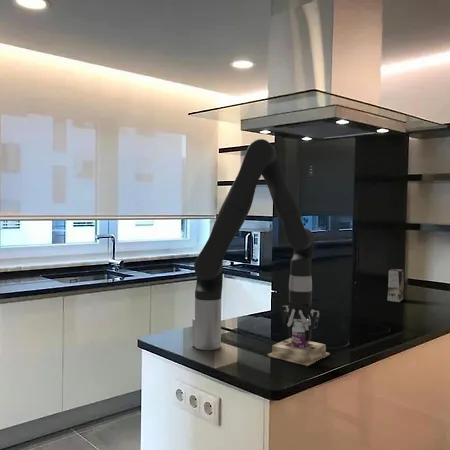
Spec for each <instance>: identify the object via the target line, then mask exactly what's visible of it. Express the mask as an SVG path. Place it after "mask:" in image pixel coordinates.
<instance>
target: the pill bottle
mask: <svg viewBox="0 0 450 450" xmlns="http://www.w3.org/2000/svg"><path fill="white" fill-rule="evenodd" d="M305 330H306V328H305V325H304V324H303V322H302V320H300V319H297V320H294V325H293V327H292V342H291V347H293V348H298V349H302V350H304V349H306V348H307V347H308V341H305Z"/></svg>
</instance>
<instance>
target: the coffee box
mask: <svg viewBox="0 0 450 450" xmlns="http://www.w3.org/2000/svg"><path fill="white" fill-rule="evenodd" d="M404 278H405V269H400V268H396V269H395V268H391V269H389V270H388V284H387V286H388V287H387V301H389V302H396V303H400V302H402V301H403V300H404V286H405V285H404V281H405V280H404Z"/></svg>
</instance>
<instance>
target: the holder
mask: <svg viewBox="0 0 450 450" xmlns="http://www.w3.org/2000/svg"><path fill="white" fill-rule="evenodd" d="M291 342H292V338H287V339H285V340H282V341H280V342H277V343H274V344H273V345H271V352H269V353H267V357H271V358H275V359H279V360H283V361H286V362H290V363H294V364H298V365H302V366H306V367H309V366H311V365H312V364H315V363H317V362H318V360H319V361H320V359H321V360H322V358H323V359H324V358H326V357H328V356H330V355H331V353H330V352H327V345H326V344H324V343H320V342H315V341H311V340H309V341H308V347H307V348H306V349H304V350H302V349H298V348H293V347H291ZM316 361H317V362H316Z"/></svg>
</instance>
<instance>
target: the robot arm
mask: <svg viewBox="0 0 450 450" xmlns="http://www.w3.org/2000/svg"><path fill="white" fill-rule="evenodd" d="M261 177H262V178H263V179H264V181H265V183H266V185H267V189H268V192H269V194H270V196H271V200H272V204H273V205H274V208H275V210H276V213H277V215H278V216H279V219H280V221H281V223H282V226H283V227H282V228H283V231H284V234H285V238H286V241H287V243H288V244H289V246H290V247H291V248H292V250H293V256H292V258H291V259H290V263H289V265H290V266H289V267H290V268H289V279H288V303H289V304H288V305H287V304H285V305H281V306H280V312H281V319H282V323H283V324H284V325H286V326H287V336H288V337H289V338H288V339H290V338H292V327H293V326H295V325H294V320H297V319H300V320H302V322H303V324H304V325H305V328H306V330H305V341H311V339H312V330H315V329H317V328H318V325H319V320H320V317H321V311H320V310H315V309H313V307H312V303H313V302H312V301H313V295H312V294H313V279H312V259H313V255H314V250H315V249H314V248H315V237H314V234H313V232H312V231H311V230H310V229H308V228H305V227H304V224H303V220H302V213H301V210H300V207H299V206H298V204H297V201H296V200H295V198H294V196H293V194H292V192H291V190H290V187H289V186H288V184H287V182H286V179H285V178H284V175H283V172H282V169H281V167H280V163H279V159H278V154H277V151H276V149H275V146H274V145H272V144H271V143H270V142H269V141H268V140H267V139H263V138H258V139H255V140H254V141H252V142H251V143H250V144H249V145H248V146H247V148H246V152H245V155H244V157H243V159H242V162H241V165H240V169H239V171H238V173H237V176H236V177H235V180H234V181H233V182H232V185H231V187H230V189H229V190H228V192H227V195H226V197H225V199H224V201H223V202H222V204H221V206H220V209H219V211H218V214H217V216H216V219H215V221H214V223H213V226H212V229H211V232H210V234H209V237H208V239H207V241H206V243H205V244H204V246H203V248H202V249H201V251H200V253H199V254H198V255H197V257H196V259H195V261H194V264H193V269H194V273H195V275H196V284H195V291H194V318H192V324H191V325H192V327H191V328H192V329H191V330H192V331H191V333H192V335H191V336H192V337H191V338H192V339H191V341H192V342H191V346H192V347H194V348H195V349H197V350H201V351H214V350H218V349H220V348H221V346H222V342H221V341H222V338H221V337H222V292H223V281H224V280H223V279H224V263H223V260H224V258H225V256H226V253H227V251H228V249H229V247H230V245H231V243H232V242H233V240H234V239H235V237H236V236H237V235H238V233H239V232H240V230H241V228H242V226H243V225H244V223H245V220H246V218H247V217H248V216H249V213H250V210H251V208H252V205H253V202H254V197H255V193H256V187H257V185H258V182H259V180H260V178H261ZM289 313H290V315H289ZM310 316H311V317H310Z"/></svg>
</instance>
